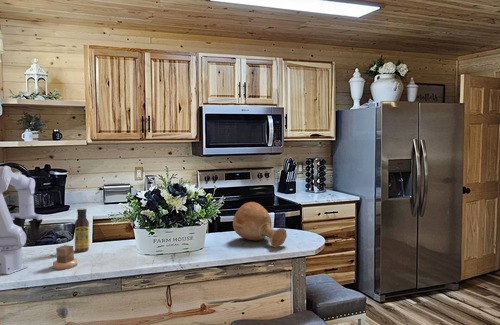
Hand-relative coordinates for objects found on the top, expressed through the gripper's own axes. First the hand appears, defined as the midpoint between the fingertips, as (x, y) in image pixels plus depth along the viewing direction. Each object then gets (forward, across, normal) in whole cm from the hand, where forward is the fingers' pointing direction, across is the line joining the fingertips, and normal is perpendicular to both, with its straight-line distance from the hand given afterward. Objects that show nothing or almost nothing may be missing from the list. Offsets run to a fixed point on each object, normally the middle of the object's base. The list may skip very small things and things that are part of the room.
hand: (28, 235), depth 175 cm
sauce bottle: (+11, -15, -16) cm, 24 cm away
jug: (+11, -92, -50) cm, 105 cm away
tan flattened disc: (+10, -24, +5) cm, 27 cm away
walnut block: (+8, -24, +5) cm, 26 cm away
